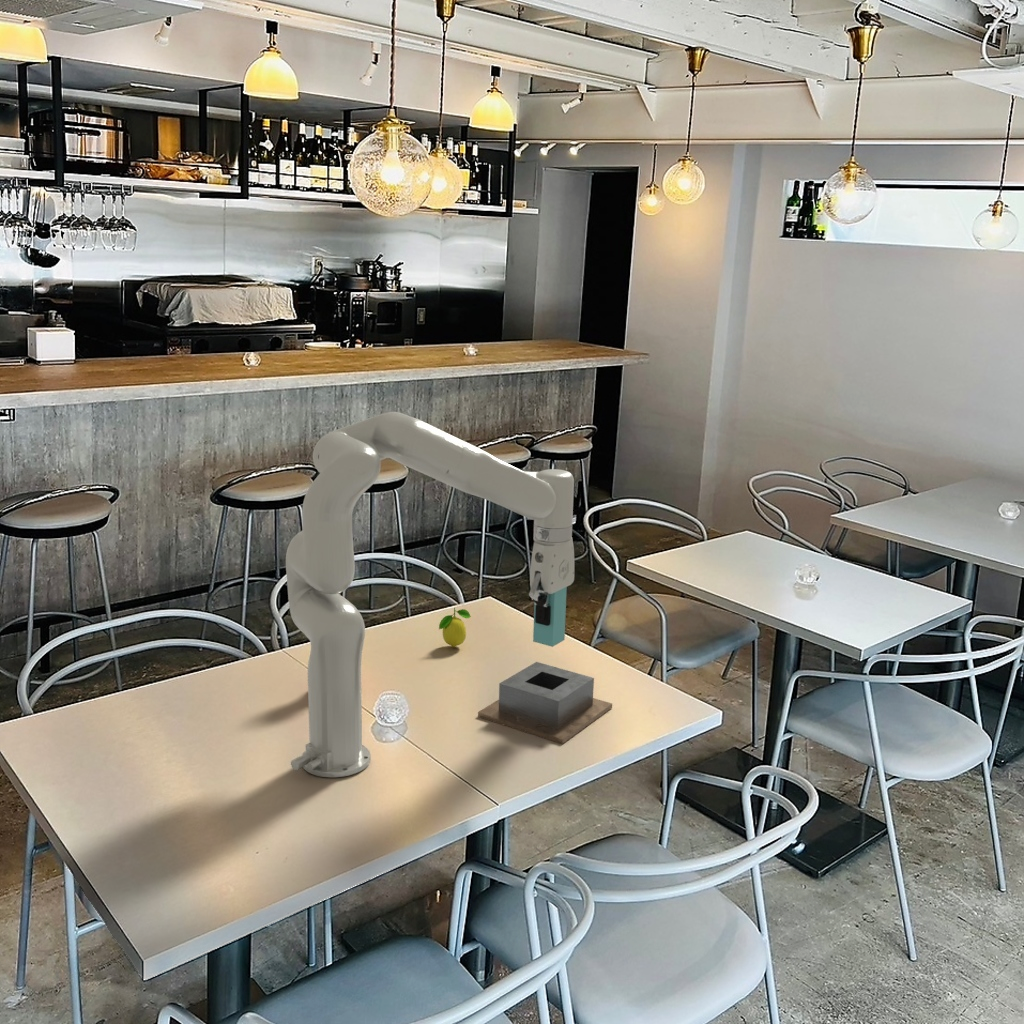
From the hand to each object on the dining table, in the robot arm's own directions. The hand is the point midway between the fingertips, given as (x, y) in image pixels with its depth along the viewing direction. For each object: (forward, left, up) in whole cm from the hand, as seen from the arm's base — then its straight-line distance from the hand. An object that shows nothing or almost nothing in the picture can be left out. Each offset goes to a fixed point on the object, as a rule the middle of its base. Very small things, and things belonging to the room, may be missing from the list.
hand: (549, 619), depth 213 cm
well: (0, 0, -20) cm, 20 cm away
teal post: (0, 0, -5) cm, 5 cm away
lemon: (+17, +36, -20) cm, 45 cm away
